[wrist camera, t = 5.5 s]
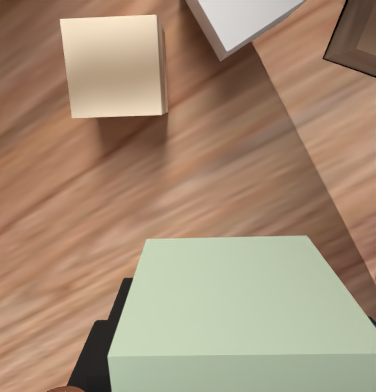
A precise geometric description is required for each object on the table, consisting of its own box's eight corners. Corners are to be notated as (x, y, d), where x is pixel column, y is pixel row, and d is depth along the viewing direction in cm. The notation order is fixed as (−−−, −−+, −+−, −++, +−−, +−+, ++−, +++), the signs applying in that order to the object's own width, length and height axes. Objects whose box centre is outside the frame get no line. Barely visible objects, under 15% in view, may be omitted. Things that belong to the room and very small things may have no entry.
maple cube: (88, 35, 23) (59, 19, 18) (164, 32, 23) (156, 14, 18) (96, 114, 24) (72, 118, 19) (168, 111, 24) (161, 114, 19)
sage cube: (146, 239, 11) (107, 356, 6) (306, 235, 11) (394, 353, 6) (156, 367, 12) (130, 542, 8) (297, 365, 12) (362, 543, 7)
